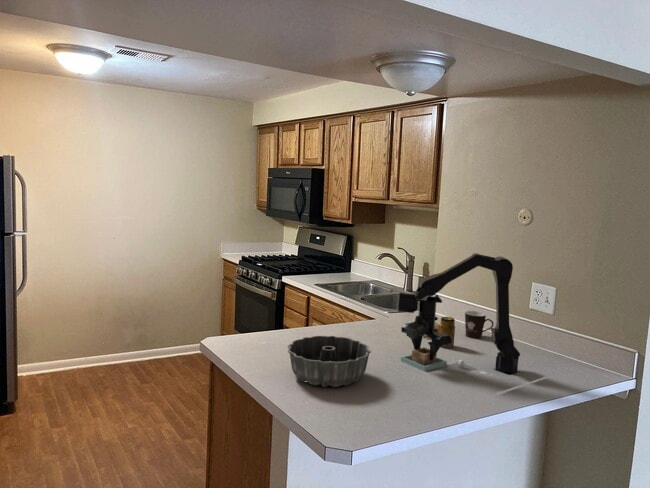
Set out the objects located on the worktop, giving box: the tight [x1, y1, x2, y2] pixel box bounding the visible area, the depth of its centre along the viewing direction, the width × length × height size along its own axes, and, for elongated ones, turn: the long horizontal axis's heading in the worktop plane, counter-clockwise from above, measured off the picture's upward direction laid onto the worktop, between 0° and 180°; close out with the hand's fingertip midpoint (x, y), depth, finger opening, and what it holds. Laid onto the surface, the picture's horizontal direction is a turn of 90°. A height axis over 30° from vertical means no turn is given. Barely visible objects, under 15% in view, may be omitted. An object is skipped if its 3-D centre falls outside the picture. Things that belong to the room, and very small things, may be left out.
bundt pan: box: [287, 335, 371, 388], centre depth 166 cm, size 26×26×10 cm
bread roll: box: [422, 322, 440, 340], centre depth 218 cm, size 10×10×8 cm
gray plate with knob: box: [444, 359, 478, 374], centre depth 180 cm, size 8×8×3 cm
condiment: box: [439, 316, 456, 350], centre depth 202 cm, size 7×8×12 cm
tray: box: [400, 354, 448, 372], centre depth 183 cm, size 11×11×2 cm
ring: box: [411, 347, 438, 365], centre depth 182 cm, size 6×6×4 cm
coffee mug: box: [464, 310, 494, 340], centre depth 219 cm, size 12×9×10 cm
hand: (424, 357), depth 182 cm, fingers open, 6 cm apart
